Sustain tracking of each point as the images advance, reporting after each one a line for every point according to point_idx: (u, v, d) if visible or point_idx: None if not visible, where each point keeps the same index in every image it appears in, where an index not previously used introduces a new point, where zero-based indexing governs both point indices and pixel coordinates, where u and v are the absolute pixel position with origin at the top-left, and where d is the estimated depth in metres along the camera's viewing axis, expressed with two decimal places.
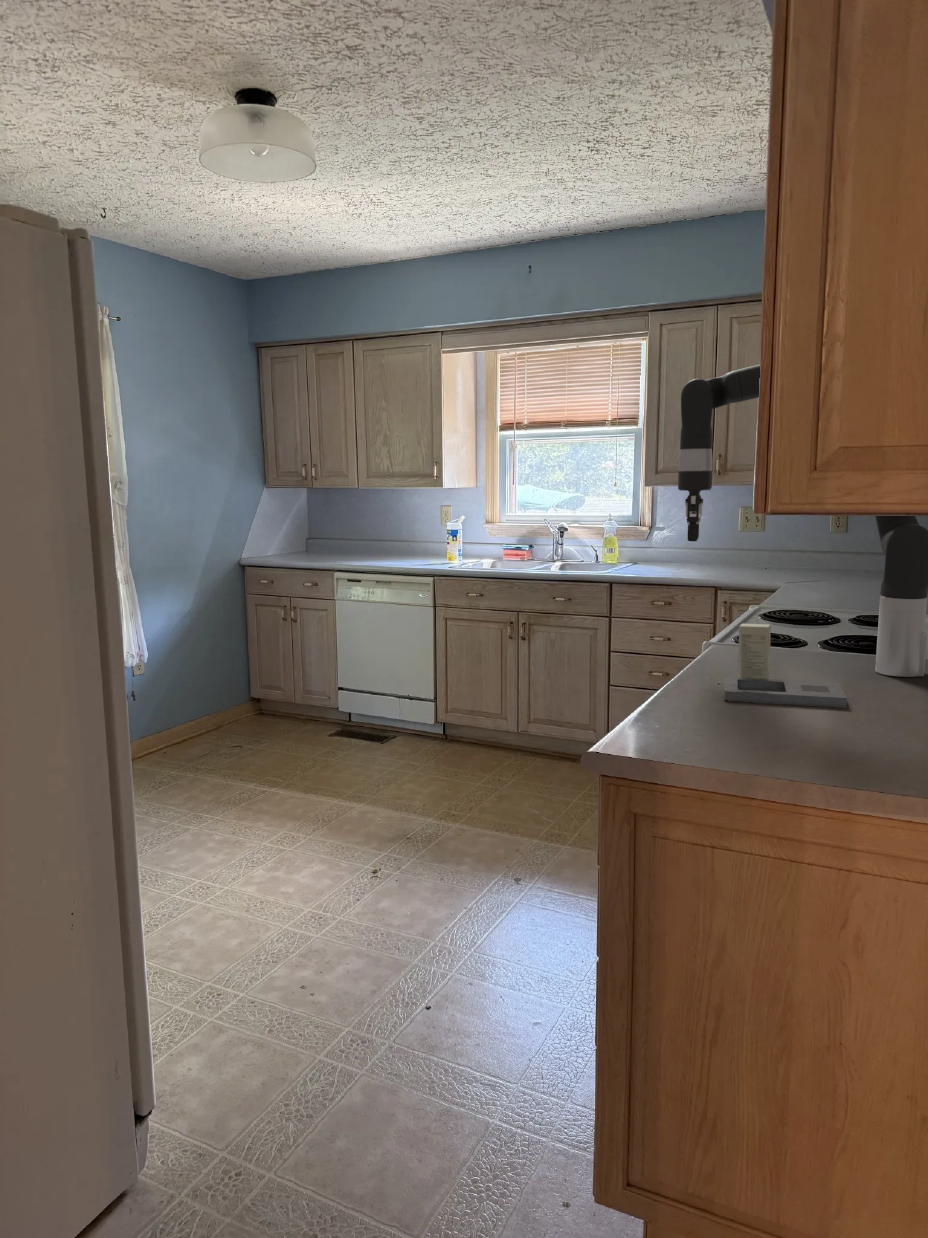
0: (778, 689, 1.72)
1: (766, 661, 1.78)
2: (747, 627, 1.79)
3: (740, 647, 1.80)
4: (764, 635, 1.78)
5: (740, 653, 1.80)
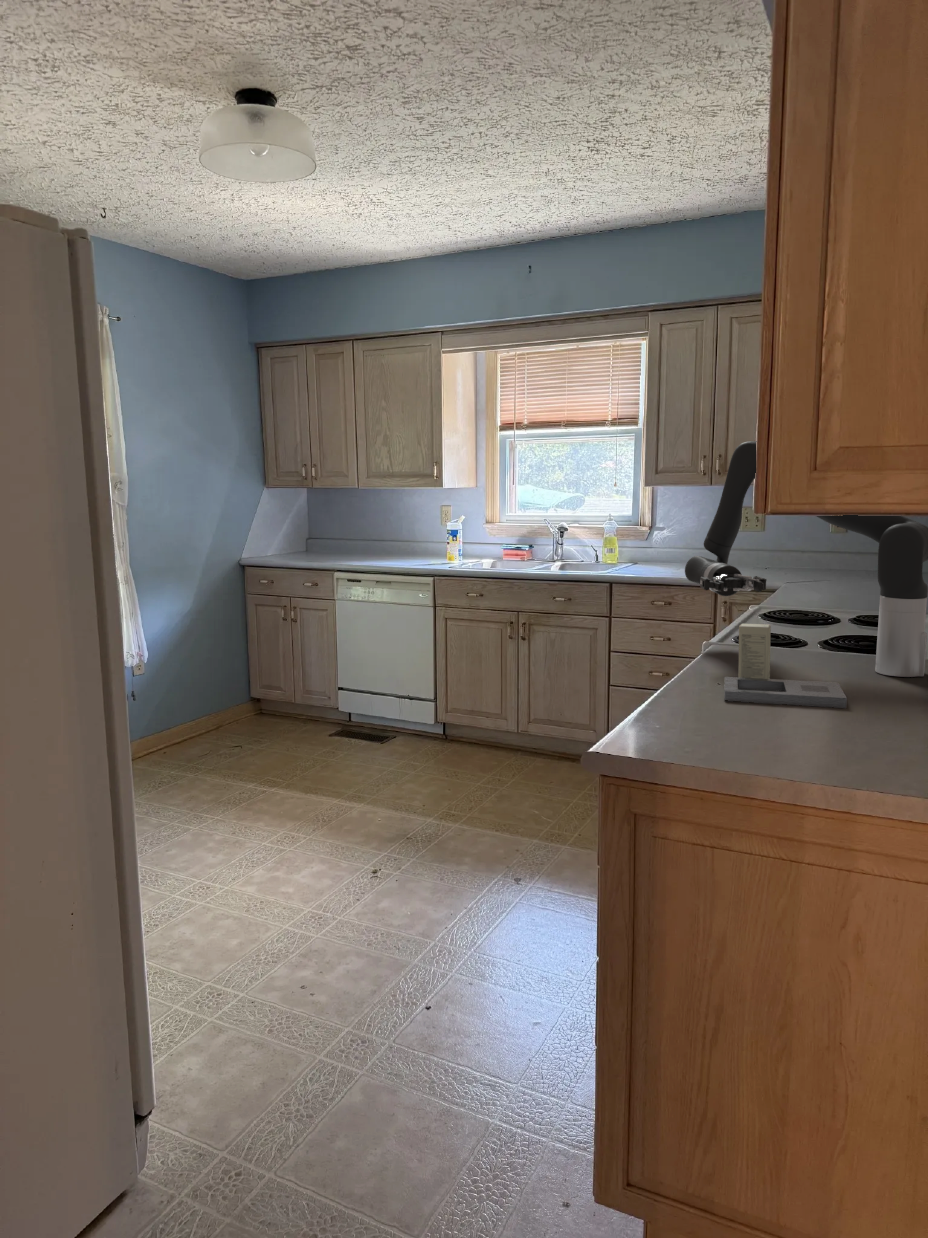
0: (778, 689, 1.72)
1: (766, 661, 1.78)
2: (747, 627, 1.79)
3: (740, 647, 1.80)
4: (764, 635, 1.78)
5: (740, 653, 1.80)
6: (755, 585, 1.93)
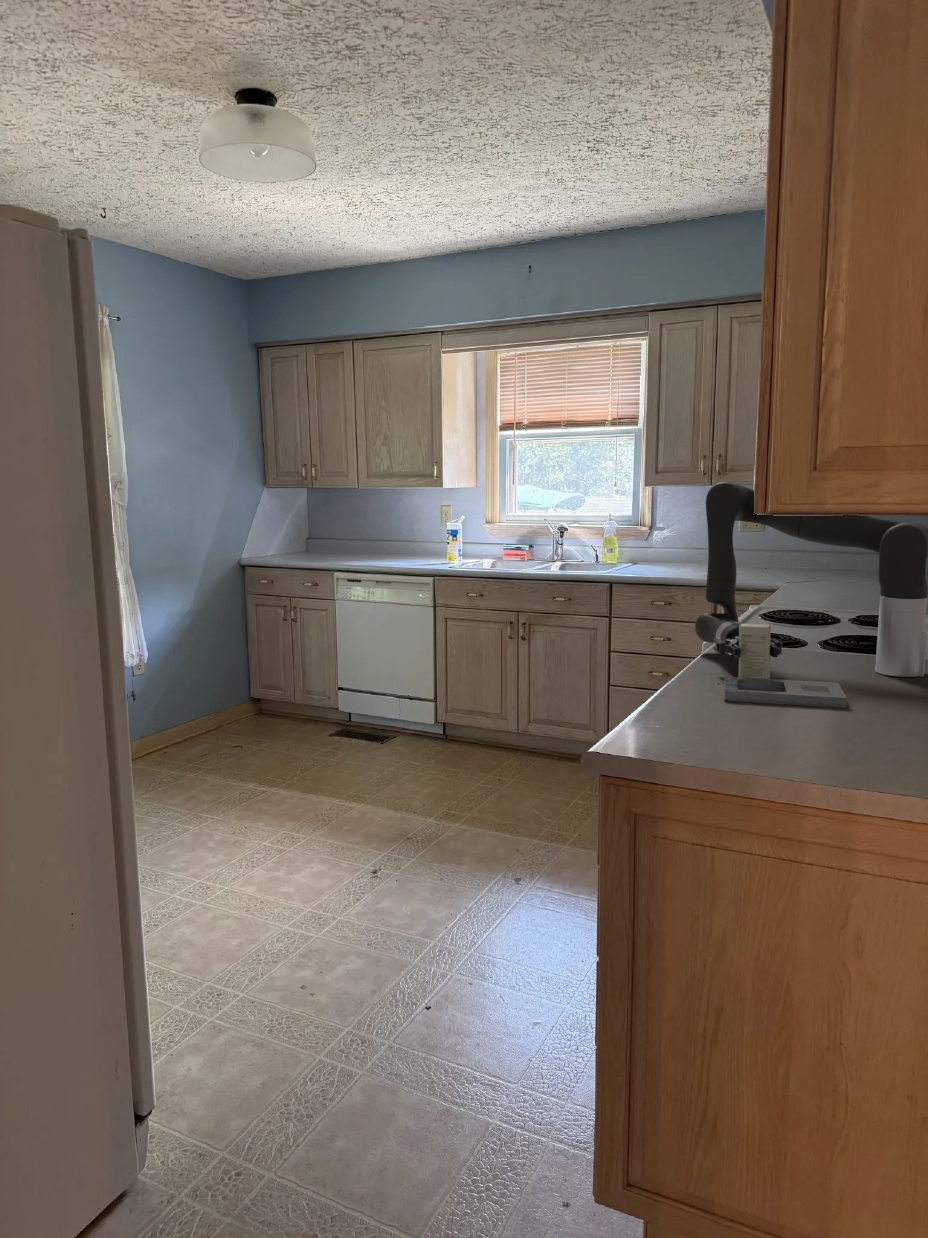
0: (778, 689, 1.72)
1: (766, 661, 1.78)
2: (747, 627, 1.79)
3: (740, 647, 1.80)
4: (764, 635, 1.78)
5: None
6: (770, 650, 1.81)
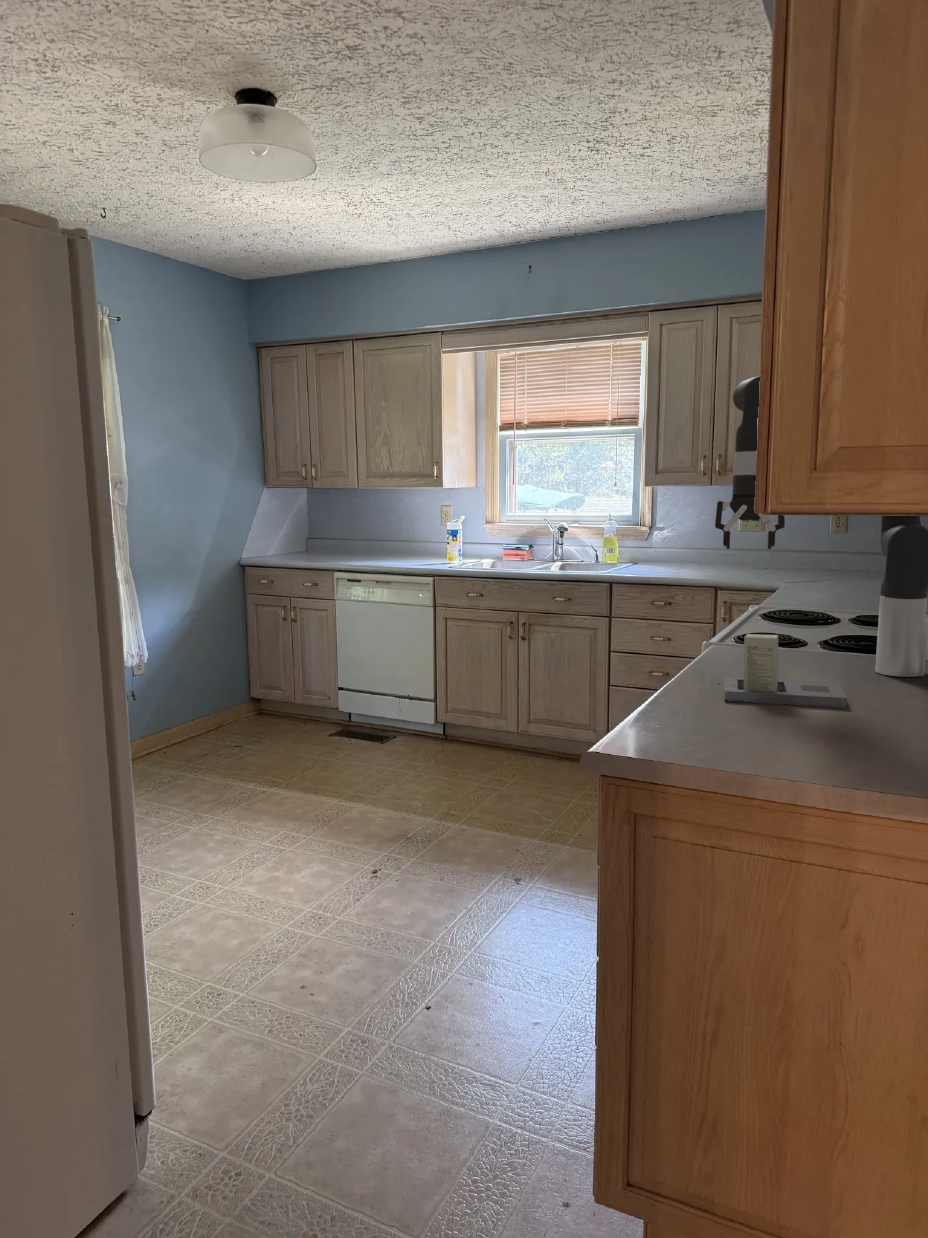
0: (778, 689, 1.72)
1: (773, 674, 1.66)
2: (753, 638, 1.66)
3: (746, 660, 1.67)
4: (772, 647, 1.65)
5: (745, 666, 1.68)
6: None
